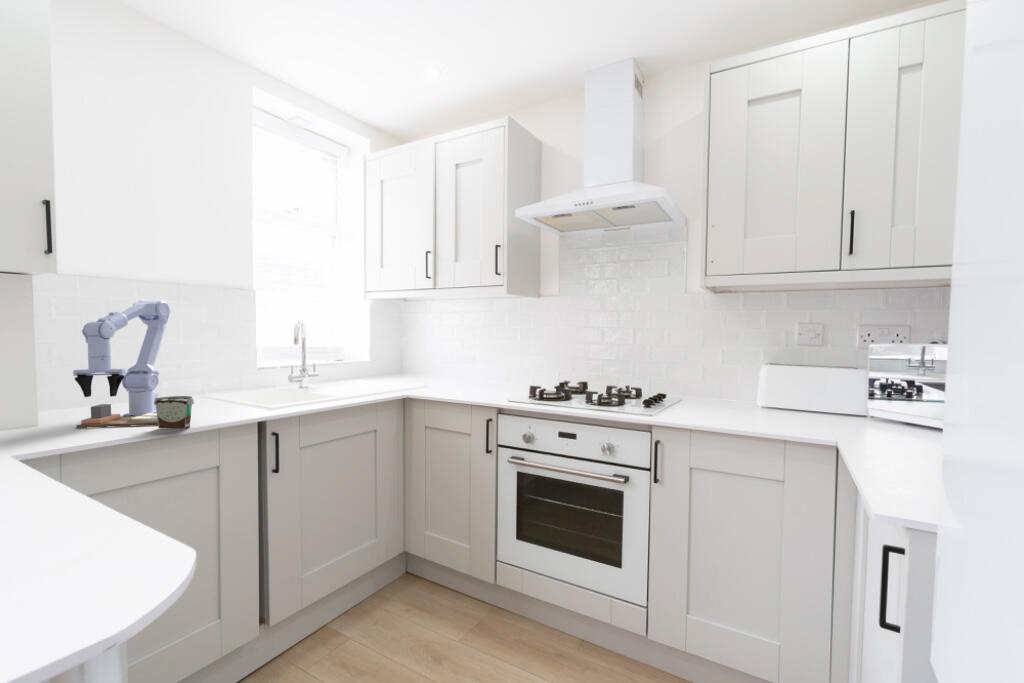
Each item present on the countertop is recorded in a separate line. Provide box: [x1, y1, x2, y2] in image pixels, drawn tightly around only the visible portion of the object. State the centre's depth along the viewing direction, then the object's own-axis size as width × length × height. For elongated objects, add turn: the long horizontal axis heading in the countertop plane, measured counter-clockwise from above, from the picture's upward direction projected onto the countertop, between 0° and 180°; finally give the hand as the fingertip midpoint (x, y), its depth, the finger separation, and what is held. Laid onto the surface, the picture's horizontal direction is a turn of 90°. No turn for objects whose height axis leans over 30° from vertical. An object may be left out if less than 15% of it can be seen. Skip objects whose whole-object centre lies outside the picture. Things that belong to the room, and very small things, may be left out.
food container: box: [154, 395, 195, 430], centre depth 152 cm, size 12×6×10 cm, turn 84°
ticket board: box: [76, 412, 158, 429], centre depth 159 cm, size 14×25×2 cm, turn 101°
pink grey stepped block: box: [80, 403, 121, 424], centre depth 157 cm, size 10×6×5 cm, turn 11°
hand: (100, 396), depth 157 cm, fingers open, 7 cm apart
